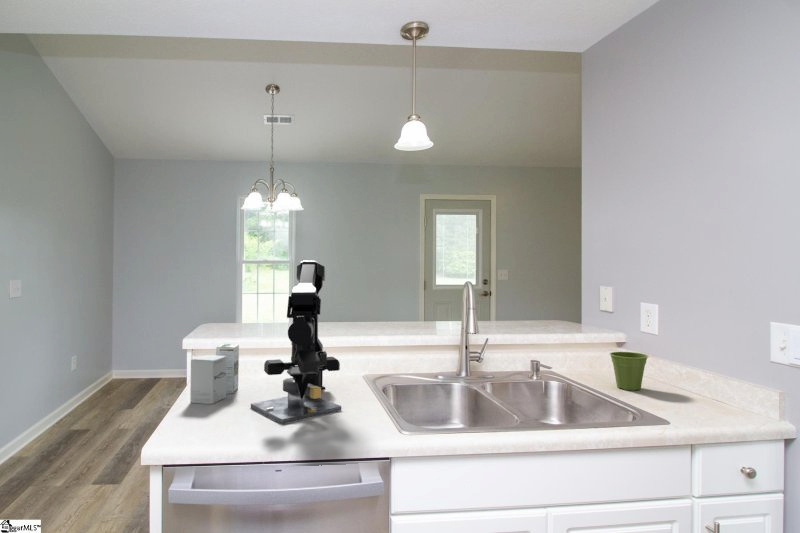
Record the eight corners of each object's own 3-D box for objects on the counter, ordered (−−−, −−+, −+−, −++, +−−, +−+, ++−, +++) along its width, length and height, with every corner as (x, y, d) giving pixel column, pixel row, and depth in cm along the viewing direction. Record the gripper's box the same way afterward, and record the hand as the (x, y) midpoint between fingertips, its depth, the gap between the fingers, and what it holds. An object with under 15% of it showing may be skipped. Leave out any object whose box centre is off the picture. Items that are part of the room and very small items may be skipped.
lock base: (306, 396, 149) (307, 379, 149) (341, 410, 135) (341, 391, 135) (250, 407, 137) (250, 389, 136) (282, 424, 123) (282, 403, 123)
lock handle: (278, 389, 136) (278, 379, 136) (300, 385, 141) (300, 376, 141) (305, 400, 125) (305, 390, 125) (328, 395, 130) (328, 385, 130)
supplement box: (212, 404, 139) (213, 360, 139) (189, 402, 141) (189, 359, 141) (227, 397, 147) (227, 355, 146) (204, 396, 148) (205, 354, 148)
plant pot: (636, 383, 169) (637, 351, 169) (655, 393, 157) (656, 357, 157) (602, 383, 169) (603, 351, 169) (619, 392, 157) (619, 357, 157)
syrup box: (219, 389, 156) (220, 343, 156) (238, 389, 157) (239, 343, 156) (214, 394, 150) (215, 346, 150) (234, 393, 151) (234, 346, 151)
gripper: (273, 344, 117) (271, 410, 117) (347, 341, 125) (345, 403, 125) (264, 338, 127) (262, 398, 127) (333, 335, 135) (332, 392, 135)
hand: (301, 398), depth 128 cm, fingers closed
